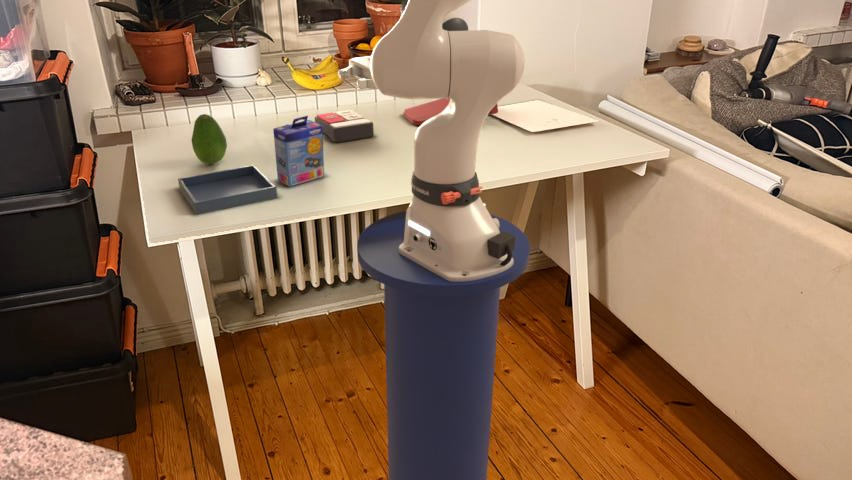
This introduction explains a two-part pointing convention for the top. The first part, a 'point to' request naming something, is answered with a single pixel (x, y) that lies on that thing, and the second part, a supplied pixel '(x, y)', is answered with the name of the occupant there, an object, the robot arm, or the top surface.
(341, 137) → the dark grey package
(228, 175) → the tray
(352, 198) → the top surface
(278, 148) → the ink cartridge box
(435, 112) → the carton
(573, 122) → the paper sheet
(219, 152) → the avocado
